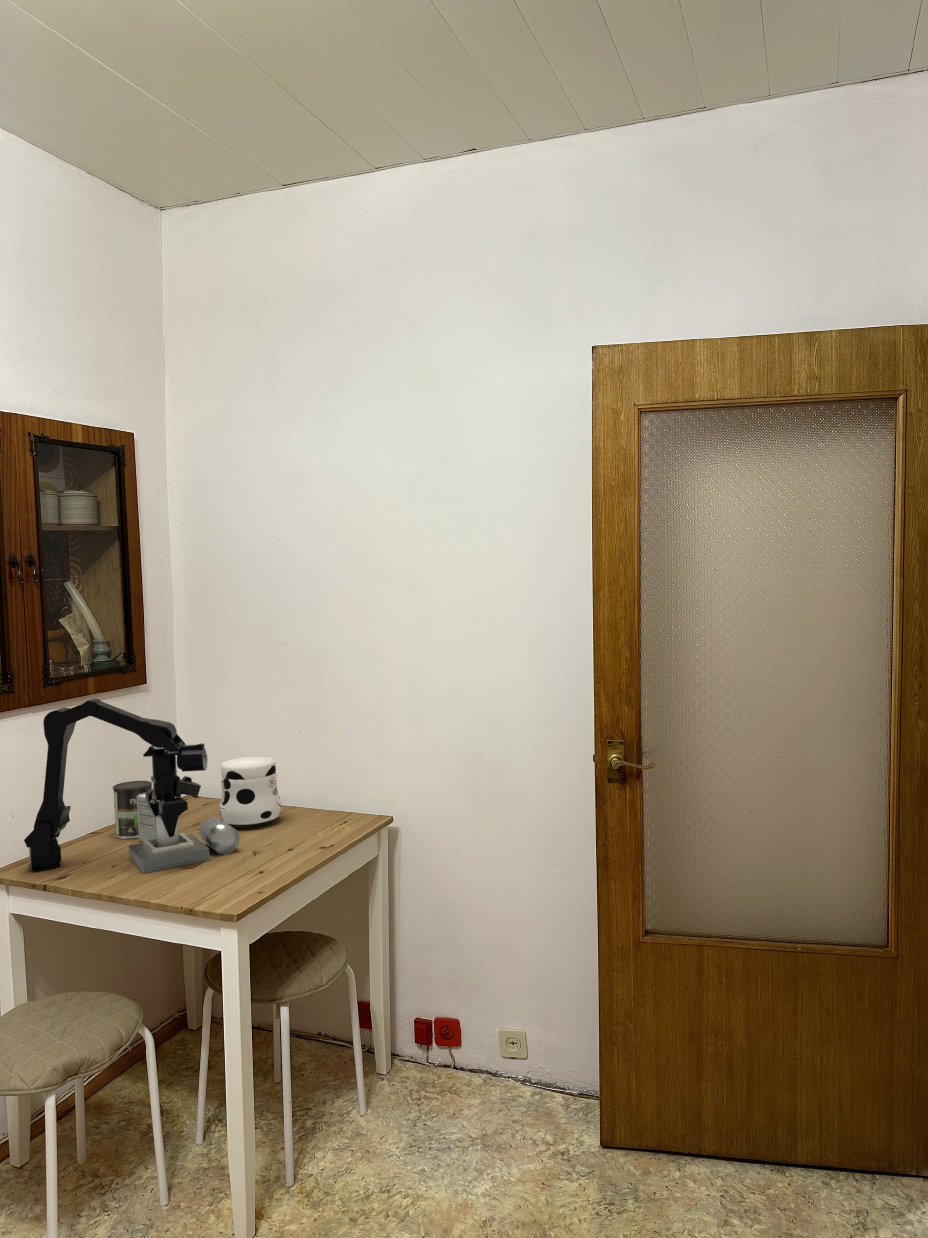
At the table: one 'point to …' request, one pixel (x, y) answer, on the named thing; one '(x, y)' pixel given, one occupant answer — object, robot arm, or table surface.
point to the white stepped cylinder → (165, 834)
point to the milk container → (249, 792)
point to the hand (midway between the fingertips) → (167, 833)
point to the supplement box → (145, 819)
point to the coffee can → (128, 807)
